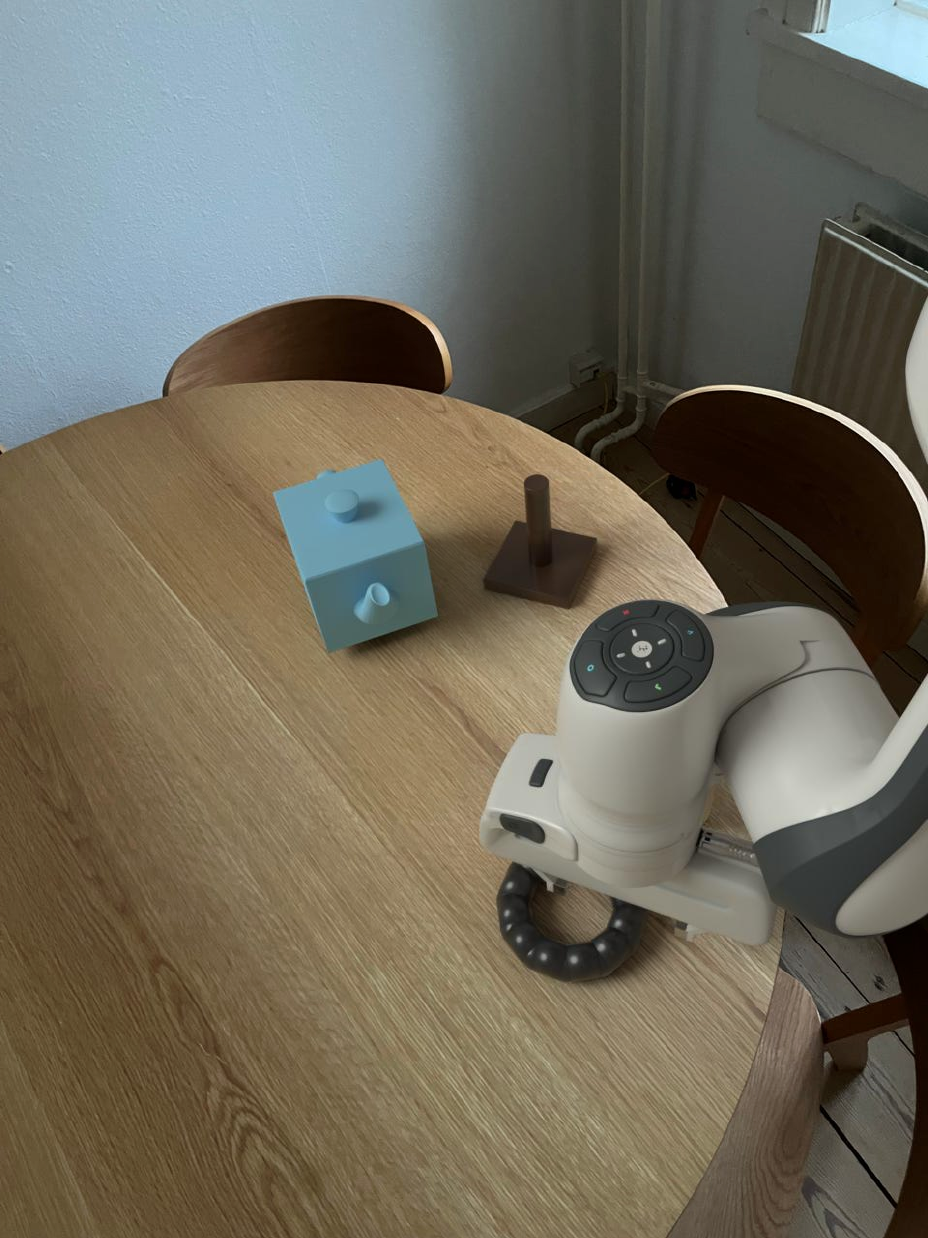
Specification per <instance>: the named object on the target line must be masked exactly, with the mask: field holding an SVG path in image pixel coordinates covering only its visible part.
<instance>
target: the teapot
mask: <svg viewBox="0 0 928 1238" xmlns="http://www.w3.org/2000/svg"><path fill="white" fill-rule="evenodd" d="M272 494H273V498H274V500H275V503H276V507H277V509H278V513H279V516H280V518H281V521H282V525H283V528H284V532H285V534H286V537H287V540H288V543H289V546H290V550H291V552H292V555H293V556H292V557H293V559H294V562H295V565H296V568H297V569H298V573H299V577H300V580H301V582H302V584H303V587H304V589H305V593H306V596H307V598H308V601H309V604H310V607H311V610H312V612H313V615H314V618H315V621H316V624H317V626H318V629H319V632H320V636H321V637H322V640H323V643H324V646H325V649H326V652H327V654H331V653H334V652H337V651H340V650H343V649H346V648H349V647H352V646H354V645H357V644H361V643H363V642H366V641H369V640H372V639H375V638H378V637H382V636H384V635H387V634H391V633H393V632H396V631H399V630H402V629H406V628H408V627H411V626H413V625H414V626H415V625H416V624H419V623H423V622H425V621H429V620H431V619H434V618H437V617H438V616H439V615H438V614H439V613H438V609H437V603H436V597H435V592H434V591H435V590H434V587H433V580H432V576H431V575H432V574H431V569H430V564H429V559H428V553H427V548H426V542H425V540H424V539H423V536H422V535H421V532H420V530H419V529H418V526H417V525H416V522H415V521H414V518H413V516H412V514H411V512H410V511H409V509H408V507H407V505H406V503H405V501H404V499H403V497H402V495H401V493H400V491H399V489H398V486H397V485H396V483H395V480H394V479H393V477H392V475H391V473H390V470H389V469H388V467H387V465H386V463H385V461H384V459H383V458H379V459H376V460H373V461H370V462H367V463H363V464H361V465H357V466H354V467H350V468H346V469H343V470H340V471H336V470H334V469H325V470H323V471H321V472H320V473H318V474H317V475H316V478H314V479H311V480H308V481H305V482H302V483H299V484H295V485H292V486H289V487H285V488H282V489H279V490H275V491H273V493H272Z"/></svg>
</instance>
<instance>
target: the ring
mask: <svg viewBox="0 0 928 1238" xmlns="http://www.w3.org/2000/svg"><path fill="white" fill-rule="evenodd" d="M543 882H545V880H543V879H542V878H541V877H540V876H539V875H538V874H537V873H536V872H535V871H534V870H533V869H532V868H530V867H527V866H524V865H521V864H518V863H516V862H513V861H511V863H510V864H509V866H508V867H507V870H506V872H505V875H504V877H503V880H502V882H501V884H500V887H499V889H498V891H497V894H496V897H495V904H496V912H497V918H498V925H499V931H500V935H501V938H502V940H503V941H504V942H505V943H506V945H507V946H508V947H509V948H510V950H511V951H512V952H513V954H515V956H516V957H517V958H518V959H519V961H520V962H521V963H522V964H523V966H525V967H526V968H527V970H528V969H529V970H531V971H533V972H535V973H537V974H541V975H543V976H546V977H548V978H550V979H554V980H557V981H559V982H562V983H567V984H569V983H575V982H582V981H589V980H595V979H600V978H606V977H608V976H609V975H610V974H612V973H613V972H614V971H615V970H616V969H618V968H619V967H620V966H621V965H623V964H624V963H626V961H627V960H628V959H630V958H631V957H632V956H633V955H634V954H635V953H636V952H637V951H638V949H639V947H640V944H641V941H642V937H643V935H644V931H645V928H646V925H647V922H648V918H649V913H650V912H649V910H648V909H645V908H642V907H640V906H637V905H634V904H631V903H628V902H626V901H623V900H620V899H617V898H614V897H611V896H609V900H610V904H611V913H610V916H609V919H608V922H607V925H606V927H605V928H604V929H603V930H602V931H600V932H599V933H598V934H597V935H595V937H593V938H592V939H591V940H586V941H580V942H574V943H565V942H563V941H560V940H558V939H556V938H552V937H550V936H548V935H546V933H545V932H544V931H543V930H542V929H541V927H539V925H538V924H537V923H536V922H535V920H534V913H533V909H532V901H533V898H534V895H535V893H536V891H537V888H538V886H539V885H540V884H542V883H543Z"/></svg>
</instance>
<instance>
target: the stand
mask: <svg viewBox="0 0 928 1238" xmlns="http://www.w3.org/2000/svg"><path fill="white" fill-rule="evenodd" d="M550 490H551V489H550V480H549V478H548V477H547V476H546V475H543V474H539V473H538V474H537V473H536V474H531V475H528V476H527V477H526V478H524V480H523V494H524V495H523V496H524V497H523V498H524V510H525V521H521V520H514V522H513V524H512V526H511V528H510V530H509V532H508V533H507V535H506V537H505V539H504V540H503V542H502V544H501V546H500V548H499V549H498V551H497V553H496V554H495V556H494V558H493V559H492V562H491V564H490V565H489V567H488V569H487V570H486V573H485V575H484V576H483V579H482V581H483V589H484V590H487V591H492V592H496V593H500V594H504V595H508V596H512V597H515V598H520V599H524V600H529V601H532V602H537V603H540V604H545V605H550V606H554V607H557V608H561V609H565V610H569V609H570V607H571V605H572V603H573V601H574V598H575V596H576V595H577V592H578V590H579V588H580V586H581V583H582V581H583V579H584V577H585V575H586V573H587V571H588V569H589V567H590V564H591V562H592V560H593V559H594V555H595V553H596V551H597V549H598V538H597V537H595V536H590V535H586V534H581V533H576V532H572V531H567V530H563V529H558V528H553V527H552V513H551V511H552V510H551V491H550Z"/></svg>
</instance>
